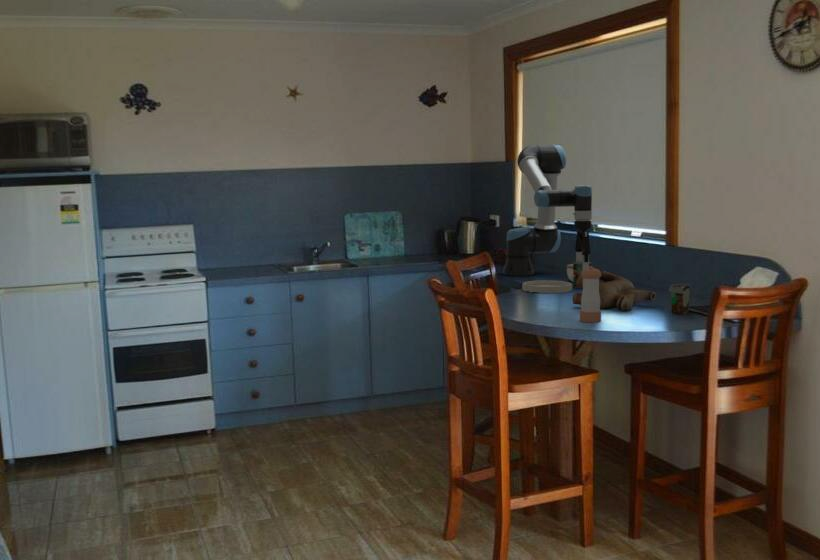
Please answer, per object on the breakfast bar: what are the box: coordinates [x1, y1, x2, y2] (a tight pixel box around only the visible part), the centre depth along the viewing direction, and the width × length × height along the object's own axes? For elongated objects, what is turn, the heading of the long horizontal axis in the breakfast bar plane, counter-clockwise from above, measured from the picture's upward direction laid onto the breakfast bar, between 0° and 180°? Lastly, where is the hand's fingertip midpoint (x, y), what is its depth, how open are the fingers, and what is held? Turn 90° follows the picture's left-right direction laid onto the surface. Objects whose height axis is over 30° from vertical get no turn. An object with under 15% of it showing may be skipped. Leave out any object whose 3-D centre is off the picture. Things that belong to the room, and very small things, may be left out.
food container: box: [668, 283, 691, 316], centre depth 312 cm, size 12×6×10 cm, turn 150°
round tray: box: [521, 279, 573, 294], centre depth 374 cm, size 21×21×3 cm
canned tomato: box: [572, 261, 592, 289], centre depth 381 cm, size 8×8×11 cm
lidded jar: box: [566, 263, 573, 283], centre depth 399 cm, size 11×11×9 cm
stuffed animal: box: [572, 270, 656, 312], centre depth 328 cm, size 13×31×25 cm
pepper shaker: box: [579, 265, 602, 323], centre depth 296 cm, size 7×7×19 cm
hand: (582, 267), depth 381 cm, fingers open, 13 cm apart
